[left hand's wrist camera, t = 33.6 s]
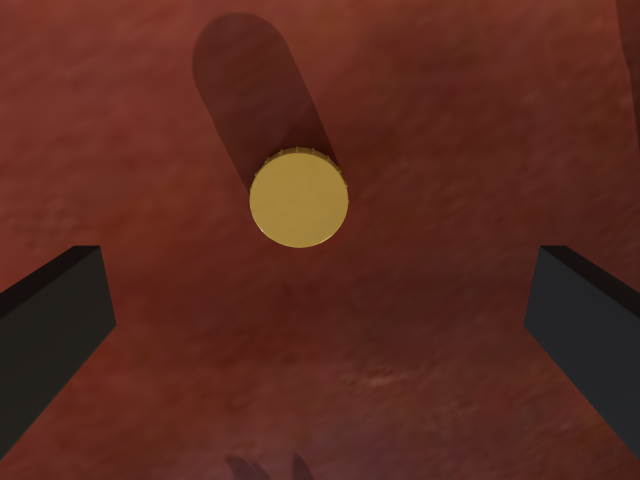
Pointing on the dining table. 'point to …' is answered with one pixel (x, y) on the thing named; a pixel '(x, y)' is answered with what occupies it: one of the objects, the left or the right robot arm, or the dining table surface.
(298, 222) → the lid
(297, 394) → the dining table surface
